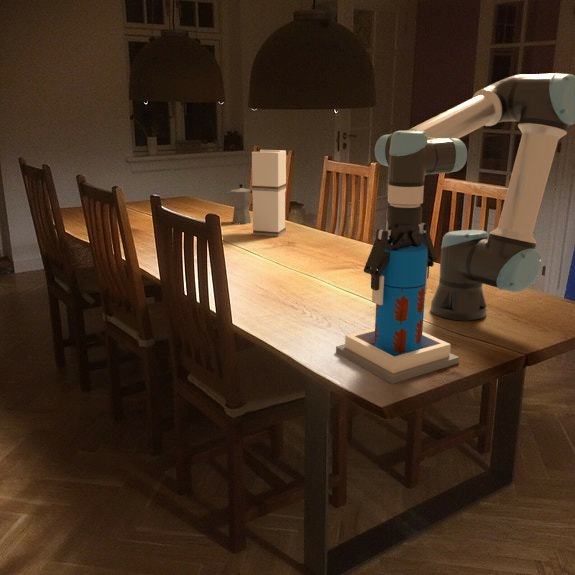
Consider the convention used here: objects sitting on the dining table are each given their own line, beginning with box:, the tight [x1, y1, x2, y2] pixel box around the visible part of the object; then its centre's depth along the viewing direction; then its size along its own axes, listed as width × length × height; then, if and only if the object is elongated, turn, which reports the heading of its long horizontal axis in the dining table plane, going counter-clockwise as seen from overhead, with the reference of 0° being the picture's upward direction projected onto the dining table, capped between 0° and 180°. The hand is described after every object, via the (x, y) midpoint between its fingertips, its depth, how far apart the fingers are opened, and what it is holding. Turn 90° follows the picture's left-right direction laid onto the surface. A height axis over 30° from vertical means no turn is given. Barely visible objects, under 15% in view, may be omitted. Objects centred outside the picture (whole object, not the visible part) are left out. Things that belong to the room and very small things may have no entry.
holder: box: [335, 327, 460, 385], centre depth 146 cm, size 20×20×4 cm
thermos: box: [374, 243, 428, 357], centre depth 143 cm, size 11×11×25 cm
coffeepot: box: [227, 183, 253, 225], centre depth 294 cm, size 15×9×18 cm, turn 117°
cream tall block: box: [251, 149, 287, 238], centre depth 269 cm, size 11×11×35 cm
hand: (399, 298), depth 143 cm, fingers open, 13 cm apart
